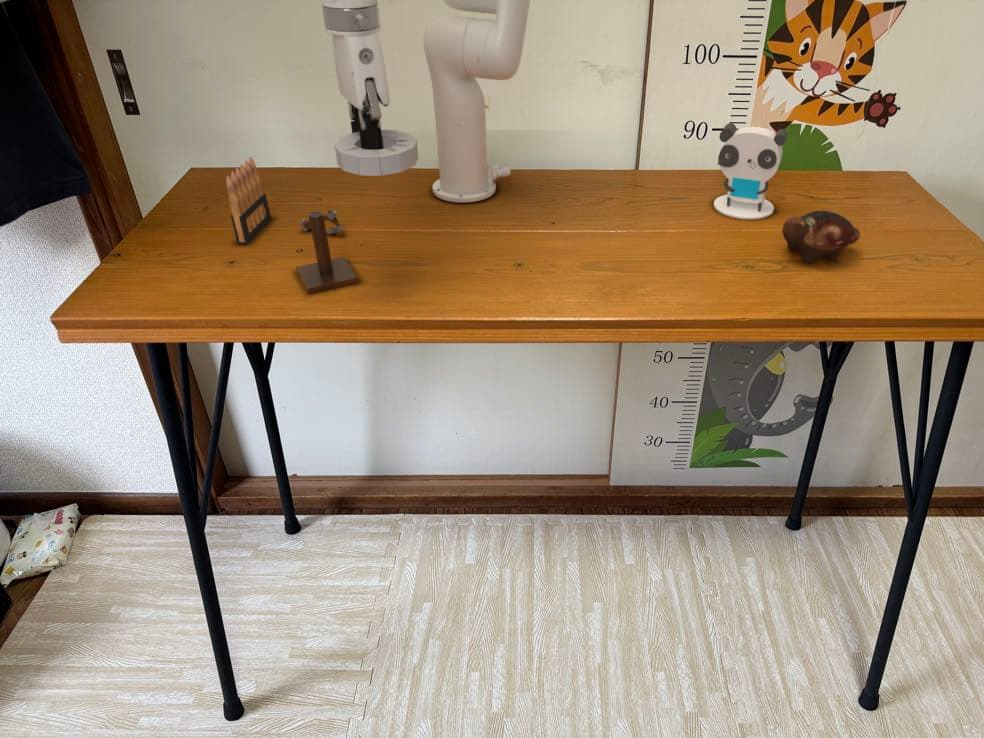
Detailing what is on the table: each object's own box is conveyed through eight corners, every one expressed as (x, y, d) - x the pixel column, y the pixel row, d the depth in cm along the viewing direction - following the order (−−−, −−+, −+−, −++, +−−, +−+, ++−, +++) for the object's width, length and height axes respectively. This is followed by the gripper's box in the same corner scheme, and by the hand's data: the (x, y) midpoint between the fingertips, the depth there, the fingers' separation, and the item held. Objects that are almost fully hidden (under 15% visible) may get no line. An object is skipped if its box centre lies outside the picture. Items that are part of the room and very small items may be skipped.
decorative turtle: (760, 252, 133) (770, 207, 129) (828, 242, 139) (840, 199, 134) (796, 274, 126) (808, 227, 122) (867, 263, 131) (881, 218, 127)
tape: (401, 143, 121) (399, 125, 119) (429, 167, 113) (427, 148, 111) (329, 155, 116) (326, 136, 115) (352, 181, 108) (349, 161, 107)
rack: (344, 262, 129) (334, 200, 123) (358, 282, 124) (348, 219, 117) (296, 272, 126) (283, 209, 120) (309, 294, 121) (295, 229, 114)
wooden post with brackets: (344, 233, 136) (331, 210, 134) (312, 244, 139) (299, 221, 137) (350, 229, 137) (337, 206, 135) (317, 240, 141) (304, 217, 139)
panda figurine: (704, 212, 146) (716, 133, 137) (717, 191, 154) (728, 115, 145) (768, 223, 143) (784, 142, 133) (777, 200, 151) (793, 123, 142)
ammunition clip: (247, 244, 134) (230, 177, 127) (237, 243, 134) (219, 177, 127) (271, 218, 143) (257, 154, 135) (262, 218, 143) (247, 154, 135)
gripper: (398, 27, 102) (411, 163, 113) (359, 5, 113) (374, 131, 124) (343, 33, 99) (362, 172, 110) (309, 10, 110) (329, 138, 122)
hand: (368, 149), depth 117 cm, fingers closed on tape, 3 cm apart
